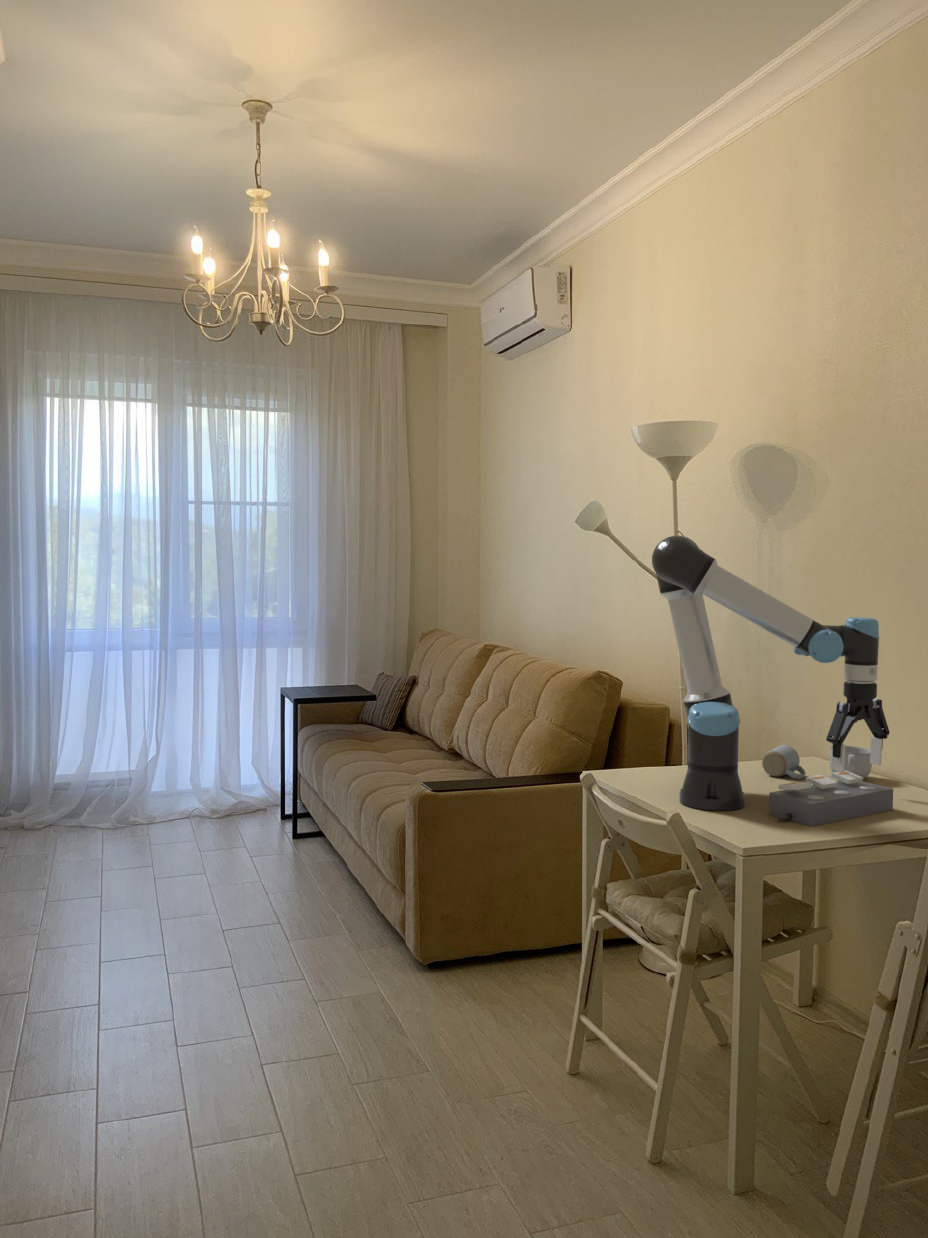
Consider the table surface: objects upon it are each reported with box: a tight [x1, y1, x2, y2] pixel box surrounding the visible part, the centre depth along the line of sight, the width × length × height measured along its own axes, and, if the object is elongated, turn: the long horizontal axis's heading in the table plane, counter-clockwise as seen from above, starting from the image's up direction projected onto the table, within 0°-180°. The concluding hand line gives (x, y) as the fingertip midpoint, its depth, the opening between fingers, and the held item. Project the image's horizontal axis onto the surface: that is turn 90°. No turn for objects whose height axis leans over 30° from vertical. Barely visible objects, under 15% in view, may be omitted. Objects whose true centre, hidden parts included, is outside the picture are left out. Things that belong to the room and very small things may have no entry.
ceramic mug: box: [761, 744, 807, 780], centre depth 273 cm, size 11×8×8 cm
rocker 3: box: [830, 771, 864, 784], centre depth 243 cm, size 5×5×1 cm
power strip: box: [768, 780, 894, 827], centre depth 235 cm, size 32×12×5 cm, turn 121°
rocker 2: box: [805, 774, 838, 789], centre depth 239 cm, size 5×5×1 cm
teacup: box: [829, 745, 873, 780], centre depth 270 cm, size 14×11×8 cm
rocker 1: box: [778, 781, 812, 791], centre depth 234 cm, size 5×5×1 cm
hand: (857, 768), depth 249 cm, fingers open, 13 cm apart
